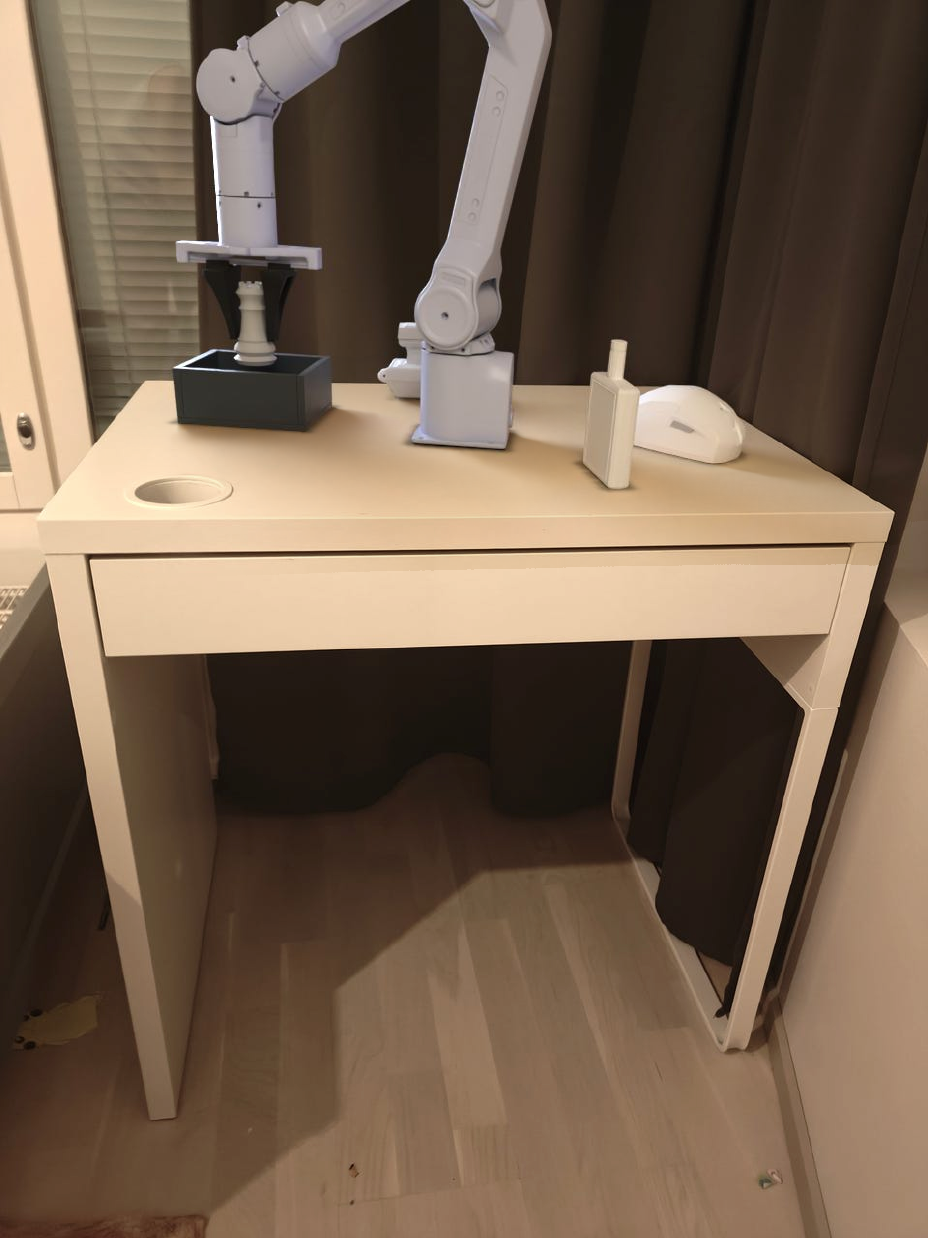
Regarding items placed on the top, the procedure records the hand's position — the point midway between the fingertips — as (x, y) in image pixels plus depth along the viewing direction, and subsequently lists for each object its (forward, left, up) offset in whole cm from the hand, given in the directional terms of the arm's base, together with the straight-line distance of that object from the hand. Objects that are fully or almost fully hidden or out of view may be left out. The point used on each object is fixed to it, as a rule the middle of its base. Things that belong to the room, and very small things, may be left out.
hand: (254, 339), depth 96 cm
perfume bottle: (-37, +14, -8) cm, 40 cm away
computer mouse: (-45, +2, -8) cm, 46 cm away
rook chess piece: (0, 0, -3) cm, 3 cm away
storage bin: (0, 0, -8) cm, 8 cm away
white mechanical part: (-15, -14, -8) cm, 22 cm away
